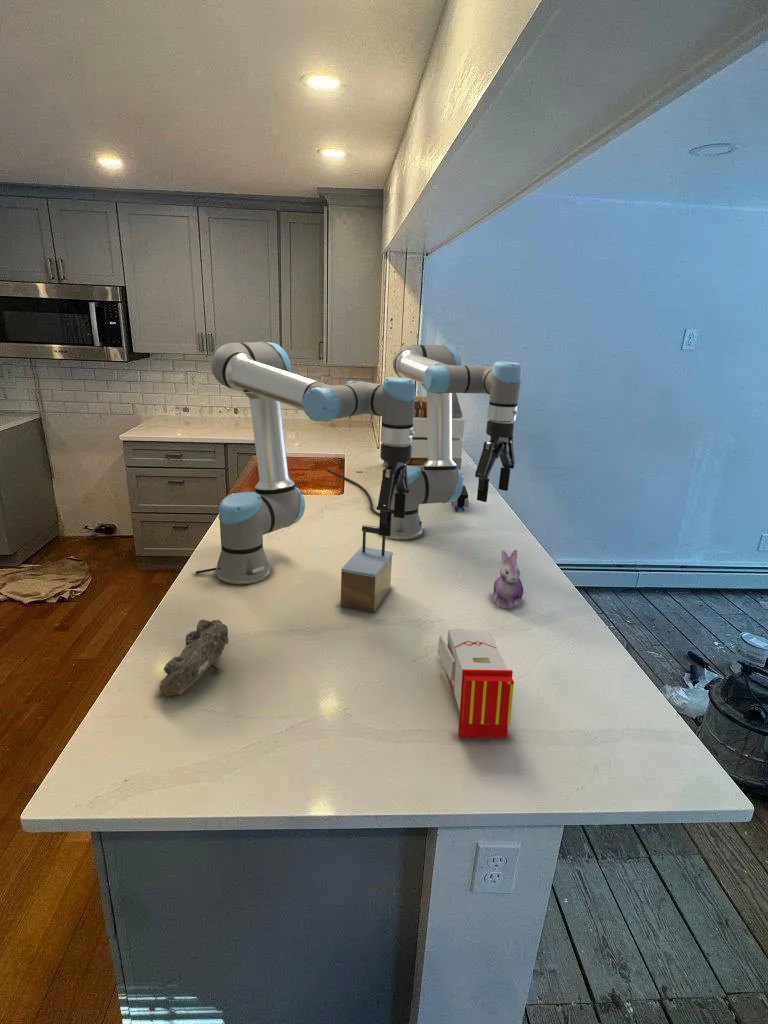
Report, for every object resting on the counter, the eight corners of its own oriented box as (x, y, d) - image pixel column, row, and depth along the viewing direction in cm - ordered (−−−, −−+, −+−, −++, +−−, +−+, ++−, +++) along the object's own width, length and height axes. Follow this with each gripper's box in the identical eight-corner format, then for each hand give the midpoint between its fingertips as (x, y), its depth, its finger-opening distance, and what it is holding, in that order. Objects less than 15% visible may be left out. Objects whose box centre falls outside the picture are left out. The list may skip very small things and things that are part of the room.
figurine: (505, 613, 150) (512, 561, 145) (482, 596, 158) (488, 546, 153) (533, 606, 154) (540, 555, 149) (509, 589, 163) (515, 541, 158)
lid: (361, 549, 161) (362, 520, 158) (392, 554, 158) (394, 525, 155) (341, 571, 147) (341, 540, 144) (375, 577, 144) (376, 545, 141)
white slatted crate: (382, 463, 289) (386, 382, 275) (445, 464, 293) (451, 384, 279) (390, 482, 257) (394, 392, 243) (460, 483, 261) (468, 394, 247)
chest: (359, 582, 164) (360, 550, 160) (390, 587, 161) (392, 555, 158) (340, 605, 150) (341, 571, 147) (373, 612, 148) (375, 577, 144)
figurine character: (468, 516, 224) (463, 500, 237) (471, 498, 221) (465, 483, 234) (452, 515, 224) (447, 499, 237) (453, 498, 220) (449, 482, 234)
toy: (488, 613, 130) (523, 677, 101) (484, 667, 133) (517, 744, 104) (435, 612, 130) (455, 676, 101) (432, 666, 133) (451, 743, 103)
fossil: (183, 622, 131) (229, 592, 126) (212, 650, 134) (258, 621, 129) (138, 690, 111) (189, 657, 106) (173, 721, 114) (225, 691, 109)
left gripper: (398, 457, 124) (393, 546, 131) (423, 435, 147) (417, 512, 154) (365, 453, 126) (362, 541, 133) (395, 432, 149) (391, 508, 156)
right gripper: (493, 429, 142) (484, 509, 149) (532, 417, 161) (522, 488, 168) (466, 424, 146) (459, 502, 153) (508, 413, 165) (499, 483, 173)
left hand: (392, 525), depth 144 cm, fingers open, 13 cm apart
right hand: (492, 495), depth 161 cm, fingers open, 13 cm apart
